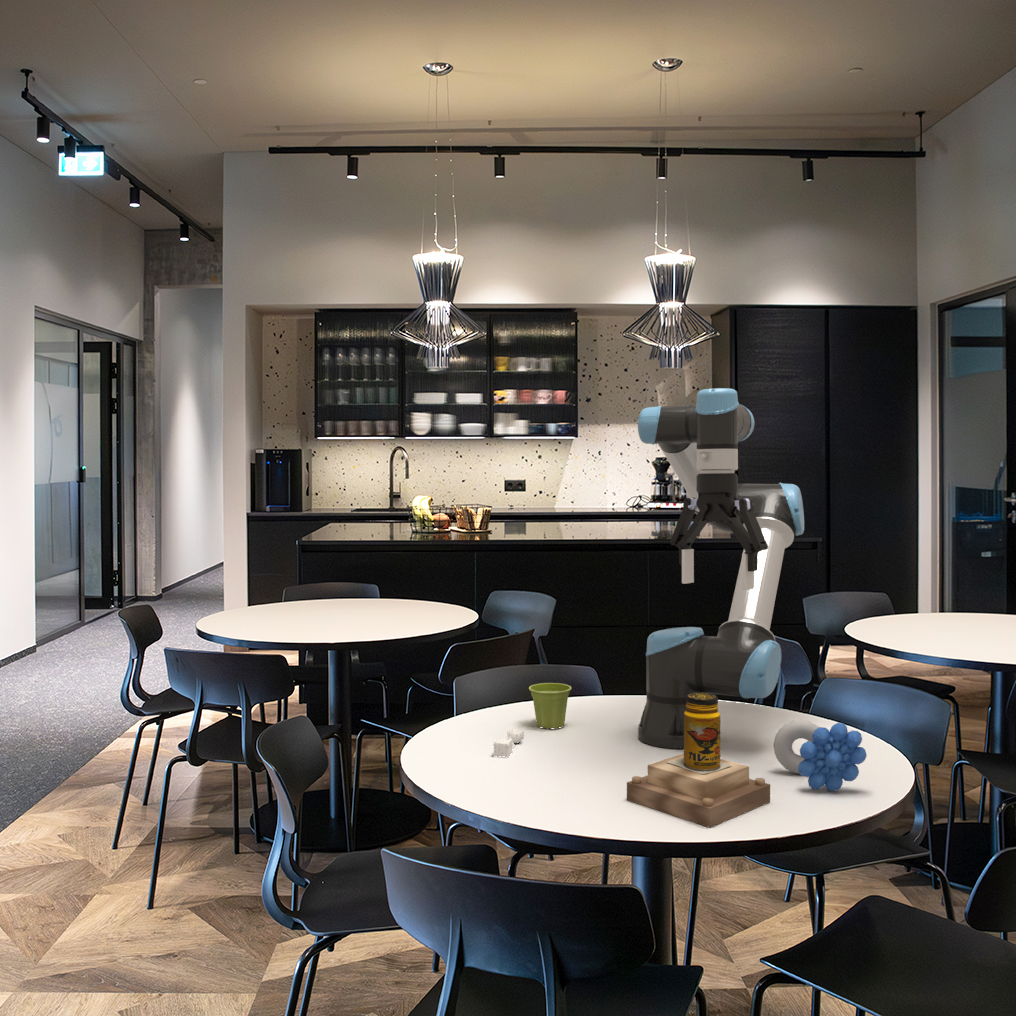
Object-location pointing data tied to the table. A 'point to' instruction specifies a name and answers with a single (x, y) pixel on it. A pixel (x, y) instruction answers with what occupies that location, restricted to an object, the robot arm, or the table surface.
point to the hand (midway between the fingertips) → (717, 586)
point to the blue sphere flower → (831, 757)
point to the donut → (786, 739)
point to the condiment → (701, 735)
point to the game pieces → (508, 743)
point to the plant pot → (550, 703)
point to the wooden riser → (699, 792)
